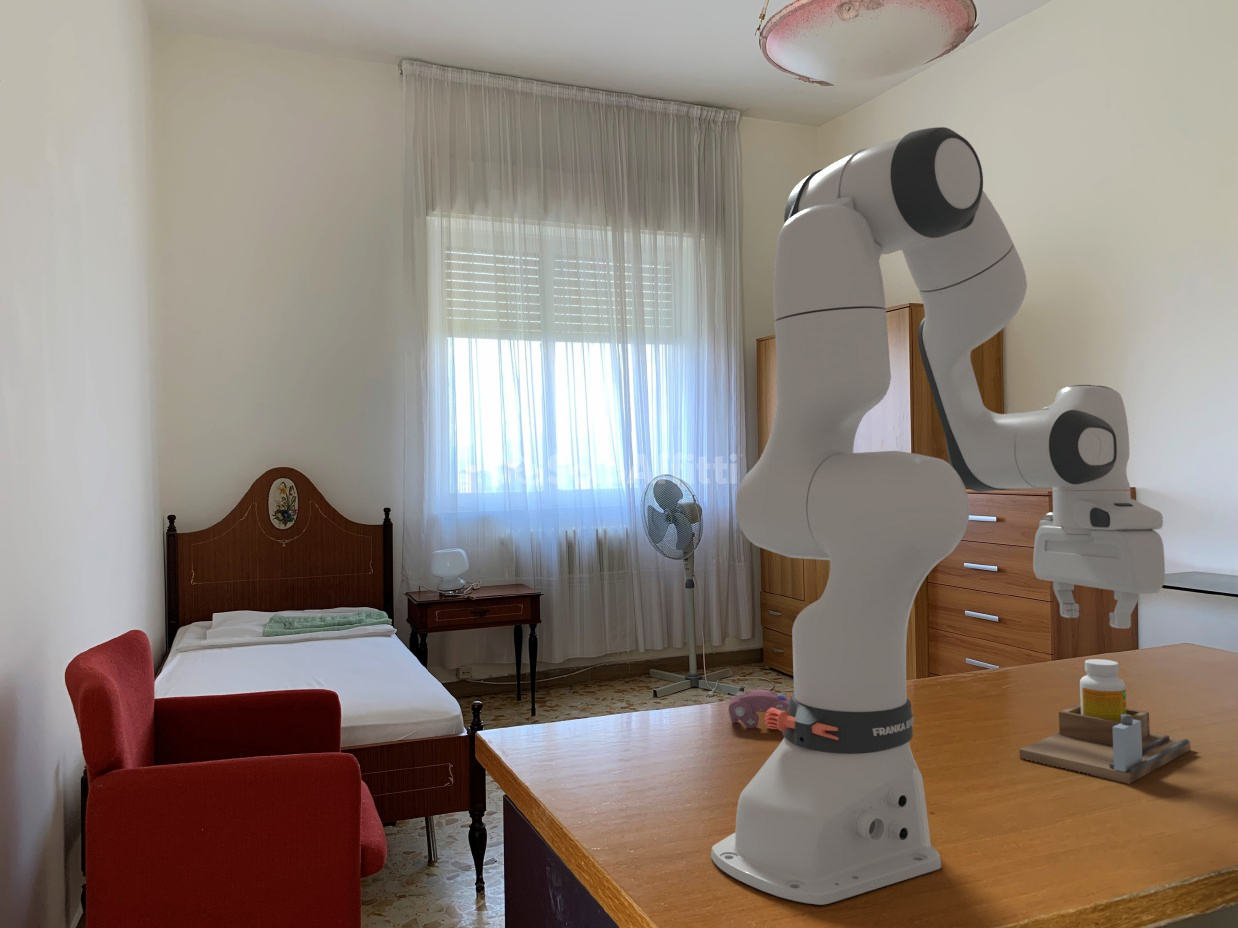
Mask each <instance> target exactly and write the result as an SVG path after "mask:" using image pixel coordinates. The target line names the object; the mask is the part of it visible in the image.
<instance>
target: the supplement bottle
mask: <svg viewBox="0 0 1238 928" xmlns="http://www.w3.org/2000/svg"><path fill="white" fill-rule="evenodd" d="M1084 672H1086V675H1084V676H1082V677H1081V679H1080V680H1079V696H1080V699H1079V700H1080V703H1079V704H1081V715H1087V716H1092V717H1097V718H1103V719H1108V720H1114V721H1121V714H1126V708H1127V697H1126V696H1127V693H1126V690H1127V689H1126V683H1125V681H1124V680H1123V679H1121V678H1119V677H1118V675H1119V674H1120V666H1119V663H1118V662H1117V661H1114V660H1109V659H1104V658H1103V659H1101V658H1100V659H1099V658H1098V659H1097V658H1092V659H1091V658H1090V659H1086V660H1085V661H1084Z"/></svg>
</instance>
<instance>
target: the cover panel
mask: <svg viewBox="0 0 1238 928" xmlns="http://www.w3.org/2000/svg"><path fill="white" fill-rule="evenodd" d="M1112 728H1113V755H1114V770H1118V771H1123V772H1126V771H1128V770H1129V768H1131V767H1133V766H1135V765H1136V764H1138V763H1140V762H1142V735H1141V721H1139V720H1133V719H1132V715H1129V714H1121V723H1120V724H1118V725H1116V726H1113V727H1112Z"/></svg>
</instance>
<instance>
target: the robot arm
mask: <svg viewBox="0 0 1238 928" xmlns="http://www.w3.org/2000/svg"><path fill="white" fill-rule="evenodd" d="M783 217H784V218H783V220H784V223H783V226H782V227H781V229H780V231H779V233H778V235H777V239H776V247H775V255H774V268H773V290H772V291H773V292H772V293H773V294H772V295H773V299H772V301H773V302H772V303H773V319H774V321H773V322H774V335H775V337H774V338H775V353H776V373H777V374H776V375H777V379H776V380H777V381H776V383H777V394H776V395H777V396H776V397H777V398H776V406H775V412H774V418H773V421H772V427H771V430H770V434H769V437H768V438H767V443H766V444H765V447H764V448H763V451H762V453H761V456H760V458H759V459H758V460H757V462H756V463H755V465H754V466H753V467H752V468H751V469H750V470H749V471H748V473H746V475H745V476H744V477H743V478H742V480H741V483H740V485H739V487H738V490H737V495H736V500H735V501H736V503H735V508H736V509H735V510H736V518H737V521H738V524H739V527H740V529H741V532H742V533H743V535H744V536H745V537H746V539H747V540H748V541H749V542H750V543H752V544H753V545H755V546H756V547H758V548H761V549H764V550H766V551H769V552H771V553H775V554H777V555H781V556H785V557H788V558H792V559H793V558H794V559H806V560H807V559H808V560H823V561H829V567H830V568H829V575H828V577H827V578H828V579H827V583H826V586H825V588H824V591H823V593H822V595H821V597H819V599H817V600H816V601H814V602H812V603H811V604H809V605H807V606H806V607H805V608H803V609H802V610H800V612H799V613H798V614H797V616H796V618H795V620H794V622H793V625H792V629H791V631H792V632H791V635H792V637H791V639H792V641H791V642H792V666H793V669H792V671H793V695H792V696H791V697H790V703H789V707H788V711H780V710H778V709H776V708H770V709H768V710H767V712H766V713H765V714H764V725H765V724H766V725H768V726H766V725H765V726H766V728H768V729H770V730H778V731H781V732H782V733H781V734H782V736H783V738H782V740H781V742H780V743H779V744H778V745H777V747H776V748H775V749H774V751H773V752H772V754H770V756H769V758H767V760H766V761H765V762H764V763H763V765H762V766H761V767H760V769H758V771H757V773H756V774H755V775H754V776H753V777H752V779H751V780H750V782H749V783H747V785H746V786H745V787H744V788H743V790H742V791H741V792H740V795H739V797H738V801H737V807H736V815H735V816H736V817H735V818H736V819H735V832H733V833H731V834H730V835H729V836H726V837H725V838H723V839H722V840H720V841H719V842H717V843H715V844H713V845H712V847H711V852H710V853H711V854H710V857H711V859H712V861H713V862H714V864H715V865H716V866H717V867H718V868H719V869H720V870H721V871H723V872H724V873H726V874H727V875H729V876H731V877H732V878H734V879H735V880H737V881H740V882H742V883H744V884H746V885H748V886H751V887H753V888H755V889H757V890H759V891H762V892H765V893H768V894H771V895H773V896H776V897H779V898H782V899H786V900H790V901H792V902H793V901H794V902H799V903H804V904H809V905H812V904H813V905H820V906H821V905H822V906H823V905H827V904H832V903H835V902H838V901H843V900H846V899H848V898H851V897H855V896H857V895H861V894H864V893H867V892H870V891H873V890H877V889H879V888H883V887H885V886H890V885H892V884H895V883H896V884H897V883H899V882H902V881H905V880H908V879H912V878H915V877H917V876H921V875H924V874H928V873H931V872H934V871H937V870H939V869H941V868H942V861H941V855H940V853H939V852H938V851H937V849H935V847H933V846H932V844H931V836H930V828H929V819H928V810H927V804H926V803H927V801H926V795H925V789H924V780H923V776H922V772H921V769H919V766H918V764H917V762H916V760H915V758H914V755H913V752H912V749H911V744H910V741H911V740H912V739H913V737H914V733H913V732H914V731H913V729H914V727H913V725H914V713H913V711H912V703H911V700H910V699H909V698H908V697H907V641H908V640H907V638H908V637H907V636H908V627H909V619H910V615H911V610H912V608H913V604H914V602H915V599H916V596H917V593H918V591H919V590H920V588H921V586H922V584H923V582H924V581H925V579H926V578H927V576H928V575H929V573H931V571H932V570H933V569H934V568H935V567H936V566H937V565H938V564H939V563H940V562H942V561H943V560H944V559H945V558H947V557H948V556H950V554H952V552H954V550H955V549H956V548H957V547H958V545H960V542H961V540H962V539H963V537H964V535H965V533H966V532H967V527H968V523H969V518H970V501H969V496H968V495H969V494H968V492H967V489H969V490H971V491H974V492H978V493H983V492H992V491H1002V490H1007V489H1010V490H1011V489H1014V490H1015V489H1042V488H1052V489H1051V490H1052V511H1051V512H1046V513H1045V515H1044V516H1043V517H1042V519H1041V520H1039V524H1038V525H1039V526H1038V529H1037V530H1036V532H1035V538H1034V543H1033V544H1034V547H1033V556H1032V557H1033V561H1032V565H1033V566H1032V569H1033V573H1034V576H1035V577H1036V579H1038V580H1043V581H1050V582H1052V587H1053V588H1052V589H1053V592H1054V594H1055V597H1056V599H1057V601H1058V604H1059V614H1060V616H1061V617H1063V618H1067V619H1068V618H1069V619H1077V618H1079V616H1080V612H1079V611H1080V604H1078V603H1076V600H1075V598H1074V594H1073V592H1072V591H1074V590H1075V585H1076V586H1083V587H1088V588H1089V587H1090V588H1096V589H1101V590H1102V589H1103V590H1110V591H1113V594H1114V595H1113V597H1114V600H1116V601H1117V602H1116V604H1115V608H1114V611H1113V612H1112V611H1111V612H1109V617H1108V618H1109V627H1112V628H1116V629H1130V628H1131V627H1132V621H1131V620H1132V614H1133V611H1134V609H1135V608H1136V605H1137V603H1138V602H1139V594H1143V595H1144V594H1145V595H1146V594H1148V595H1149V594H1157V593H1159V592H1160V591H1161V590H1162V588H1163V586H1164V585H1165V584H1164V583H1165V580H1166V579H1165V578H1166V577H1165V576H1166V573H1165V572H1166V570H1165V569H1166V567H1165V566H1166V565H1165V551H1164V550H1165V549H1164V543H1163V539H1162V536H1161V535H1160V533H1158V530H1160V529H1162V528H1163V526H1164V525H1163V523H1164V517H1163V514H1162V512H1161V511H1159V510H1156V509H1154V508H1151V507H1150V506H1147V505H1146V504H1144V503H1142V502H1139V501H1138V500H1136V499H1134V498H1133V499H1132V497H1131V484H1130V482H1129V479H1128V475H1127V468H1128V462H1129V459H1130V438H1129V437H1130V436H1129V425H1128V419H1127V418H1128V417H1127V413H1126V408H1125V405H1124V400H1123V397H1122V395H1121V393H1120V392H1119V391H1117V390H1115V389H1113V388H1111V387H1108V386H1104V385H1094V384H1093V385H1091V384H1077V385H1076V384H1075V385H1069V386H1066V387H1062V388H1061V389H1059V390H1057V391H1056V395H1055V397H1054V402H1052V403H1051V404H1049V405H1048V406H1045V407H1043V408H1042V409H1040V410H1038V409H1037V410H1032V411H1025V412H1023V411H1022V412H1014V413H1013V412H1011V413H1003V414H1002V413H997V412H994V411H991V410H989V409H988V408H987V407H986V406H985V405H984V403H983V399H982V395H981V392H980V389H979V385H978V382H977V379H976V378H977V377H976V375H975V372H974V368H973V364H972V361H971V359H972V358H971V352H972V351H973V350H974V349H976V348H978V347H979V346H981V345H982V344H984V343H986V342H987V341H988V340H990V339H991V338H993V337H994V336H996V335H997V334H998V333H999V332H1000V331H1001V330H1003V329H1004V328H1005V327H1006V326H1007V325H1008V324H1009V323H1010V322H1012V320H1013V319H1014V317H1015V316H1016V315H1017V314H1018V312H1019V310H1020V309H1021V307H1022V304H1023V302H1024V299H1025V296H1026V292H1027V288H1028V283H1027V276H1026V271H1025V268H1024V264H1023V262H1022V260H1021V259H1022V258H1021V257H1020V255H1019V253H1018V251H1017V249H1016V246H1015V244H1014V242H1013V240H1012V238H1011V236H1010V233H1009V232H1008V229H1007V227H1006V225H1005V223H1004V222H1003V220H1002V217H1001V216H1000V214H999V212H998V211H997V209H996V207H995V206H994V204H993V202H991V199H989V197H988V195H987V194H986V192H985V191H984V174H983V168H982V164H981V160H980V159H979V156H978V154H977V151H976V150H975V148H974V147H973V145H972V144H971V143H970V142H969V141H968V140H967V138H964V136H961V135H960V134H959V133H958V132H956V131H955V130H952V129H951V128H949V127H945V126H943V127H940V126H938V127H937V126H936V127H929V128H924V129H919V130H914V131H911V132H908V133H907V134H905V135H904V136H903V137H901V138H897V139H894V140H889V141H886V142H884V143H883V142H882V143H880V144H877V145H875V146H871V147H869V148H862V149H859V150H858V151H855V152H853V153H851V154H849V155H847V156H845V157H842V158H840V159H839V160H837V161H835V162H834V163H832V164H830V165H827V166H826V167H825V168H824V169H823V168H822V169H818V170H816V171H814V172H812V173H811V174H809V175H807V176H806V177H805V178H803V179H802V180H801V181H800V182H799V183H798V184H796V186H794V188H793V190H792V191H791V192H790V194H789V196H788V198H787V202H786V205H785V208H784V216H783ZM899 251H902V254H903V257H904V259H905V262H906V265H907V267H908V269H909V270H908V271H909V272H910V275H911V277H912V279H913V281H914V284H915V286H916V288H917V290H918V293H919V294H920V297H921V300H922V304H923V310H924V311H923V312H924V318H923V319H922V320H921V321H920V324H919V326H918V331H917V341H918V348H919V352H920V353H919V354H920V358H921V360H922V361H921V362H922V365H923V368H924V371H925V374H926V378H927V382H928V384H929V388H930V390H931V395H932V398H933V401H934V404H935V406H936V409H937V413H938V416H939V418H940V421H941V422H940V423H941V426H942V428H943V433H944V436H945V443H946V444H945V445H946V452H947V459H948V461H946V460H944V459H942V458H938V457H935V456H929V455H924V454H919V453H913V452H907V451H899V450H887V451H885V450H884V451H868V452H854V445H855V439H856V434H857V432H858V428H859V426H860V424H861V422H862V420H863V418H864V417H865V415H866V414H867V413H868V412H869V411H871V410H872V409H874V408H875V407H876V406H877V405H879V403H881V402H882V400H883V399H885V397H886V395H887V393H888V391H889V388H890V385H891V380H892V375H891V361H890V360H891V359H890V347H889V334H888V321H887V319H888V318H887V311H886V309H887V308H886V297H885V289H884V283H883V282H884V281H883V275H882V270H881V265H880V259H881V256H882V255H889V254H892V253H896V252H899ZM966 488H967V489H966ZM1156 530H1157V531H1156ZM765 717H767V718H765ZM765 721H768V722H765Z"/></svg>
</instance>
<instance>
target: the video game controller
mask: <svg viewBox="0 0 1238 928" xmlns="http://www.w3.org/2000/svg"><path fill="white" fill-rule="evenodd" d="M790 699H791V697H789V696H787V694H786V693H785V692H773V691H771V690H768V689H761V688H760V689H754V690H753V689H752V690H750V691H747V692H744V691H738V692H736V694H735V695H733V696H732V698H731V699H730V701H729V702H728V713H729V719H730V721H731V723H733V724H737V723H738V722H739V721H740V722H742V724H743V725H744V727H746V728H749V729H754V728H756V727H757V726H758V725H759V720H760V716H759V714H758V713H759V712H760V713H768V712H767V710H768V709H770V708H776V709H778V710H780V711H788V707H789V703H790ZM765 718H767V717H765V716H764V719H765ZM765 722H768V721H764V725H765V726H766V727H767V726H768V725H766V724H765Z"/></svg>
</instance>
